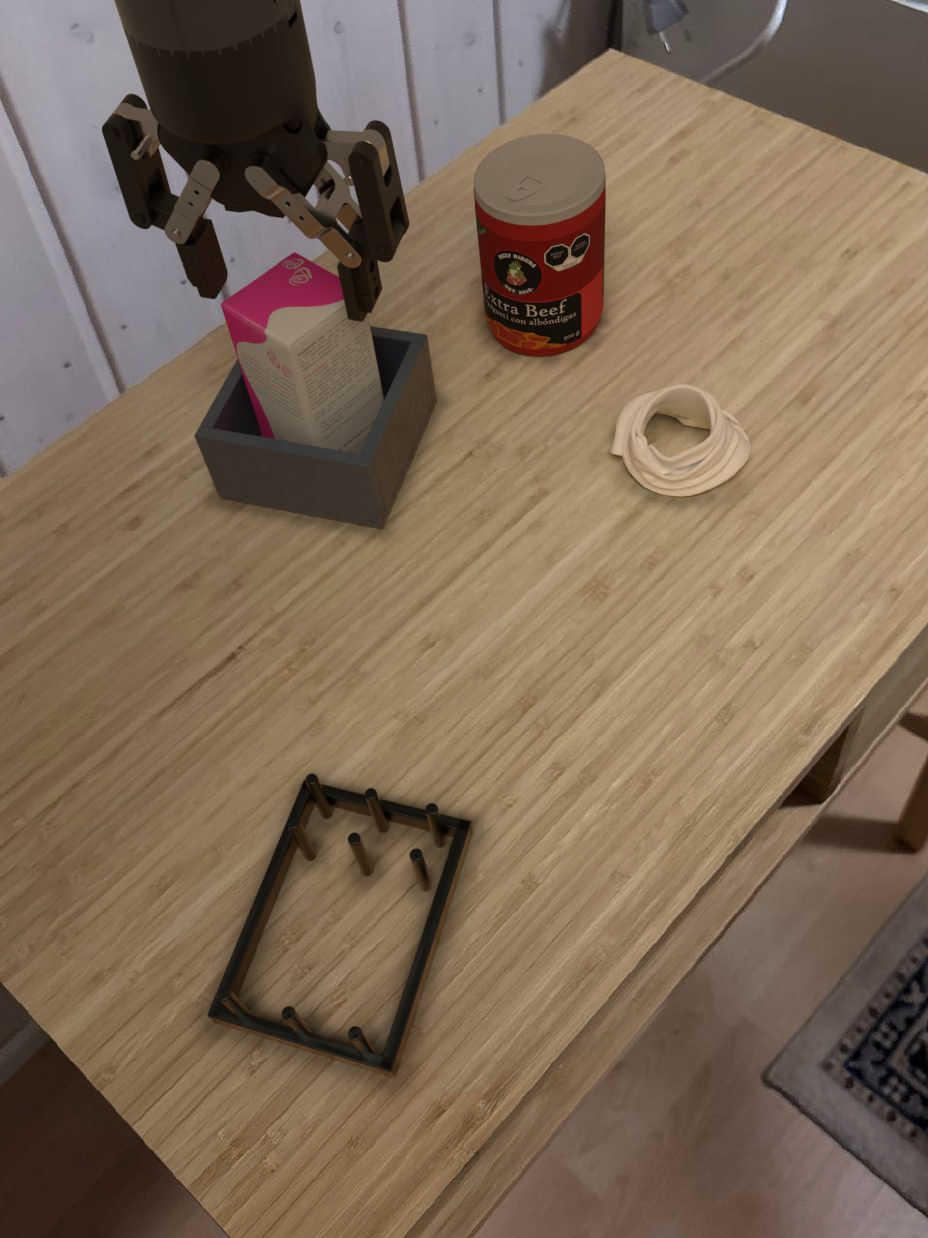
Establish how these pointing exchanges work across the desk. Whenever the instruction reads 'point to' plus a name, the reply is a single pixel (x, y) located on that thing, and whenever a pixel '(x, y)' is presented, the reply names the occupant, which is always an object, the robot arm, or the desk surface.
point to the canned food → (541, 242)
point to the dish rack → (312, 791)
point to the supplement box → (305, 357)
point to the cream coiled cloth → (694, 465)
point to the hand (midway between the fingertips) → (288, 299)
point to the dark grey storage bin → (323, 474)
